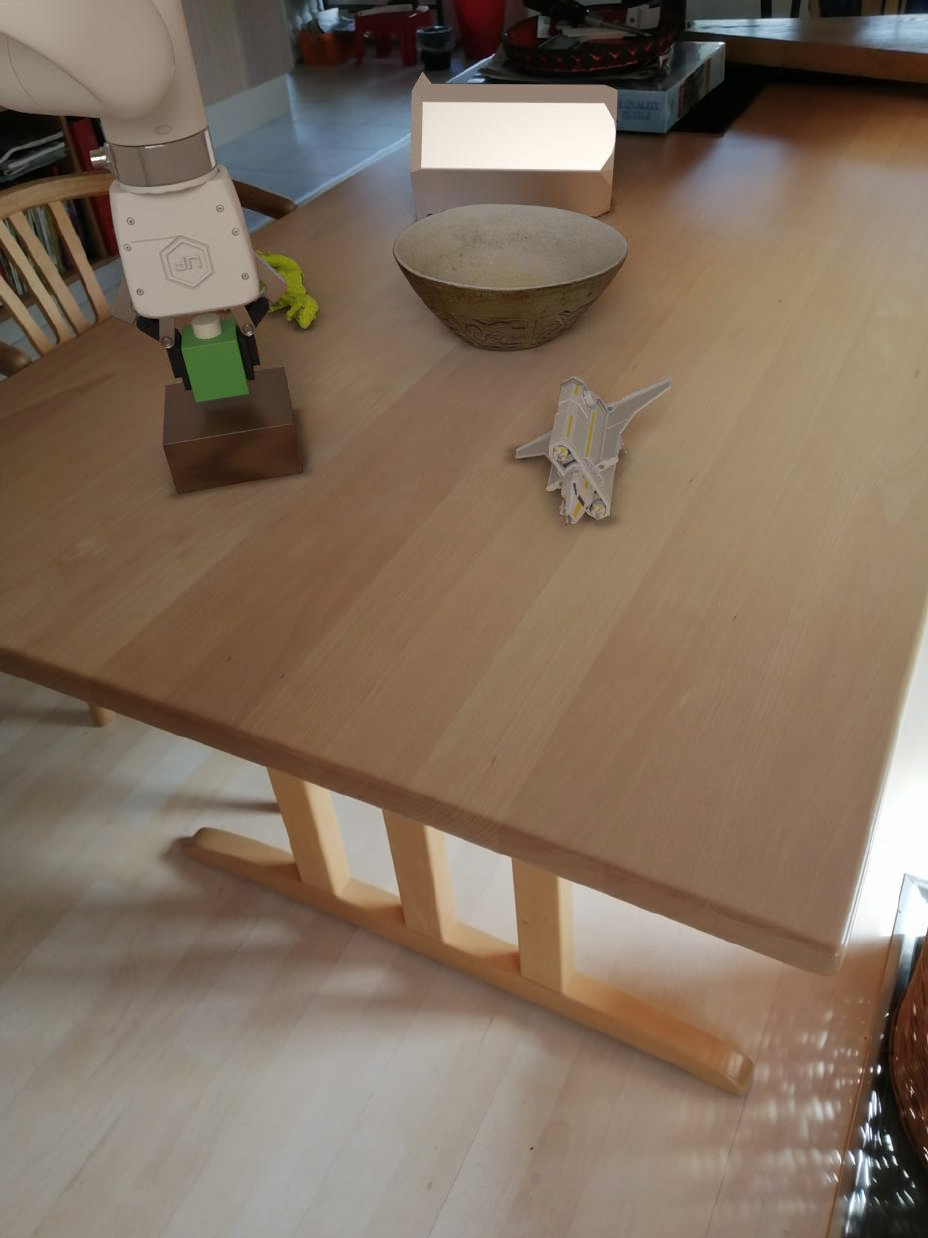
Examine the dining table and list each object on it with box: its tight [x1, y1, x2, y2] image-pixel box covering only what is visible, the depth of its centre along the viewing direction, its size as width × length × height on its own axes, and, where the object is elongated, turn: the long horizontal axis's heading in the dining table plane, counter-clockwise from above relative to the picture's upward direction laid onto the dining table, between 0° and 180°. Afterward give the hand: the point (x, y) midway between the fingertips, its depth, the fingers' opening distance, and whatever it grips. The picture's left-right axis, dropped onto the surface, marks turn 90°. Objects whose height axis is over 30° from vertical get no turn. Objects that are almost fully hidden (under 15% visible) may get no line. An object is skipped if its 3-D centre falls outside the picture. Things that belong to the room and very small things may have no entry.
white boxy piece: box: [409, 71, 618, 221], centre depth 130 cm, size 25×16×19 cm, turn 84°
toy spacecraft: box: [514, 374, 674, 528], centre depth 80 cm, size 8×15×15 cm
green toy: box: [181, 312, 249, 402], centre depth 86 cm, size 5×5×6 cm
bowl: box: [392, 204, 629, 351], centre depth 104 cm, size 24×24×10 cm
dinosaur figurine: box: [223, 249, 320, 329], centre depth 115 cm, size 20×10×6 cm, turn 35°
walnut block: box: [162, 366, 303, 494], centre depth 90 cm, size 11×11×5 cm
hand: (219, 376), depth 87 cm, fingers closed on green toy, 4 cm apart
